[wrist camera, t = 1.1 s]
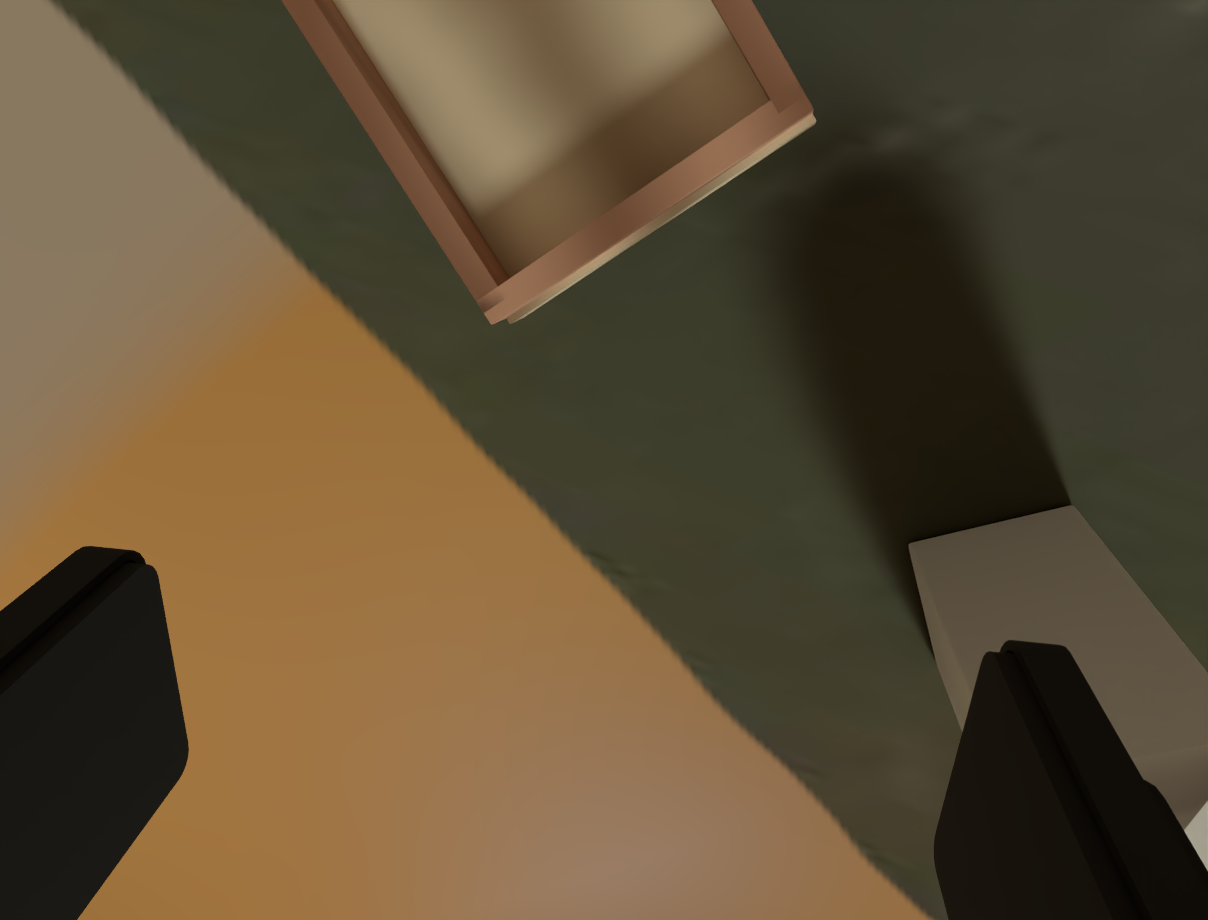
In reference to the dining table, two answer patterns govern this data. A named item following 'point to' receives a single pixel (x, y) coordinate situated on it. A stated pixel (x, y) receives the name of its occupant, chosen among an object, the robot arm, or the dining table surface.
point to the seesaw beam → (555, 121)
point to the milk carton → (1073, 639)
